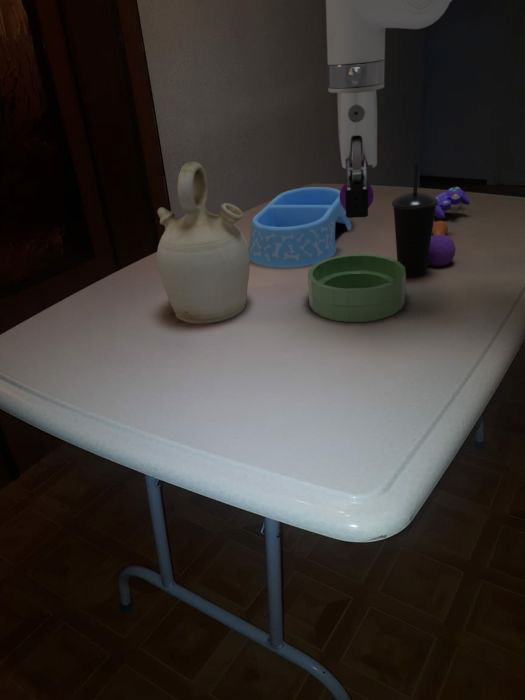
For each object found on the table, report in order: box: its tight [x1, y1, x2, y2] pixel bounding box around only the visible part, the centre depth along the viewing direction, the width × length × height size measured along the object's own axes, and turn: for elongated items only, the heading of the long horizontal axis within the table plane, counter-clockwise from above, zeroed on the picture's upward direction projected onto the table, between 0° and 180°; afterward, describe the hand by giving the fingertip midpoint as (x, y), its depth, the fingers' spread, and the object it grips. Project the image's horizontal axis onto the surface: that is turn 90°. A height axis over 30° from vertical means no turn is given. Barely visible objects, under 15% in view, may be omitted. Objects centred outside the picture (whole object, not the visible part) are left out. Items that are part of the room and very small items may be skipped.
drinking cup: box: [391, 161, 438, 278], centre depth 97 cm, size 8×8×20 cm
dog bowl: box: [248, 186, 353, 269], centre depth 122 cm, size 34×19×8 cm, turn 161°
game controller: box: [434, 185, 471, 223], centre depth 128 cm, size 10×8×10 cm
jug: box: [156, 161, 251, 324], centre depth 91 cm, size 15×16×25 cm
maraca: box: [427, 220, 456, 268], centre depth 109 cm, size 6×6×20 cm
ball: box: [339, 181, 374, 210], centre depth 83 cm, size 5×5×5 cm
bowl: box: [307, 253, 407, 323], centre depth 92 cm, size 16×16×6 cm
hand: (356, 209), depth 84 cm, fingers closed on ball, 4 cm apart
